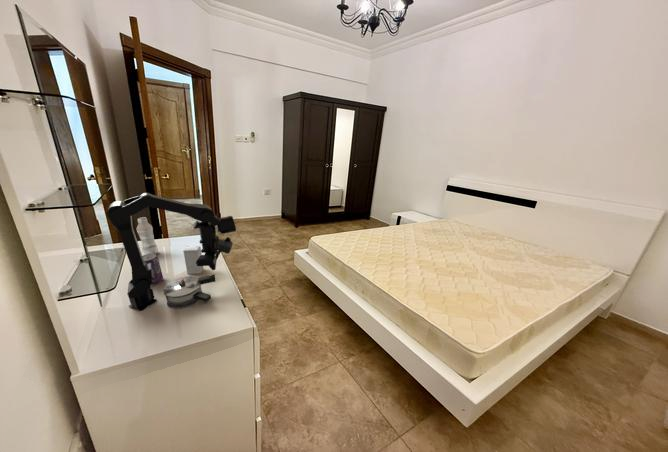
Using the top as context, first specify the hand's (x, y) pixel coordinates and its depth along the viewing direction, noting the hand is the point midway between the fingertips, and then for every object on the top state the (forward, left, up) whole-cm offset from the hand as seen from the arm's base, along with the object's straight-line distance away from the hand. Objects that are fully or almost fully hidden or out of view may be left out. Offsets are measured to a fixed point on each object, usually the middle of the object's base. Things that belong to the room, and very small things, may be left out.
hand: (213, 269), depth 107 cm
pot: (-12, +1, -7) cm, 14 cm away
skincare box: (+5, +16, -7) cm, 18 cm away
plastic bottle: (+9, +49, -7) cm, 50 cm away
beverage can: (-8, +26, -7) cm, 28 cm away
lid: (-11, +2, -2) cm, 11 cm away
